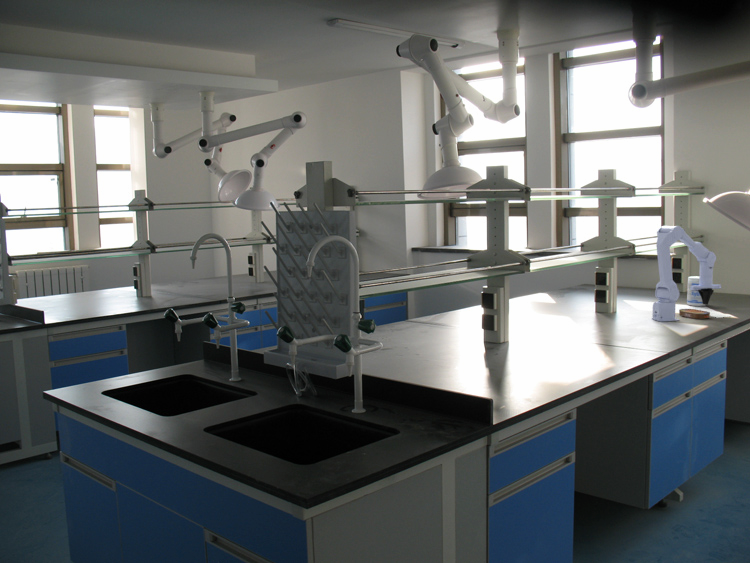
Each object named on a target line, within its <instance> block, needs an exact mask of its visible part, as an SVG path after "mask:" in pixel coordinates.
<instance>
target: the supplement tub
mask: <svg viewBox="0 0 750 563" xmlns="http://www.w3.org/2000/svg"><path fill="white" fill-rule="evenodd" d="M699 276H700V275H699ZM699 276H696V275H695V276H694V275H693V276H688V277H687V289H686V290H687V293H686V294H687V295H686V304H687V305H688V306H693V307H705V306H706V305H705V304H703V302H702V298H701V296H700V294H699V292H698V290H690V287H691V286H694V285H699Z"/></svg>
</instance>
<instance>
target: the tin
mask: <svg viewBox="0 0 750 563" xmlns="http://www.w3.org/2000/svg"><path fill="white" fill-rule="evenodd" d="M678 314H679V316H681V317H685V318H689V319H695V320H696V319H697V320H704V319H710V317H711V316H710V312H709V311H705V310H701V309H696V308H695V309H694V308H680V309H679V311H678Z"/></svg>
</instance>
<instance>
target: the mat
mask: <svg viewBox="0 0 750 563" xmlns="http://www.w3.org/2000/svg"><path fill="white" fill-rule="evenodd" d="M708 312H710V317H712V318H715V317H716V318H715V319H720V318H723V317H724V318H731V316H729V315H726V314H722V313H719V312H716V311H709V310H708Z"/></svg>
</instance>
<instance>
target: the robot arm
mask: <svg viewBox="0 0 750 563" xmlns="http://www.w3.org/2000/svg"><path fill="white" fill-rule="evenodd" d="M685 231H686V230H685V229H684V228H682V227H681V226H680V225H675V226H674V225H662V226H660V227H659V228H658V230H657V231H656V235H657V238H656V239H657V240H656V245H655V246H656V255H657V265H658V273H659V274H658V276H659V281H658V282H657V283H656V285H655V291H654V295H655V298H656V299H657V301H655V302H654V303H653V304H652V317H651V320H654V321H657V322H661V323H663V322H675V321H677V322H678V321H680V319H679V318H676V302H677V301H678V299H679V298H680V290H679V288H678V284H677V283H676V282H675V281H674V280H673V269H672V268H673V267H672V260H671V250H670V248H671V247H672V245H674V244H675V243H677V242H678V241H680V242H681V243H683V244H684V245H685V246H686V247H687V248H688V250H689V252H690V253H692V255H693V256H695V257H696V260H697V262H699V285H694V286H691V287H690V290H698V292H699V294H700V296H701V298H702V302H703V304H705V306H707V305H709V303H710V298H711V297H712V295H713V293H714V290H716V289H719V290H720V289H722V284H720V283H719V284H714V282H713V281H714V278H713V276H714V266H715V262H716V260H717V256H716V254H715V253H714V252H713V251H710V250H709V248H707V247H705V246H704V245H703V243H702V241H701V242H700V241H694V240H693V239H692V237H691V236H690V235H688V234H687V232H685Z"/></svg>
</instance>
